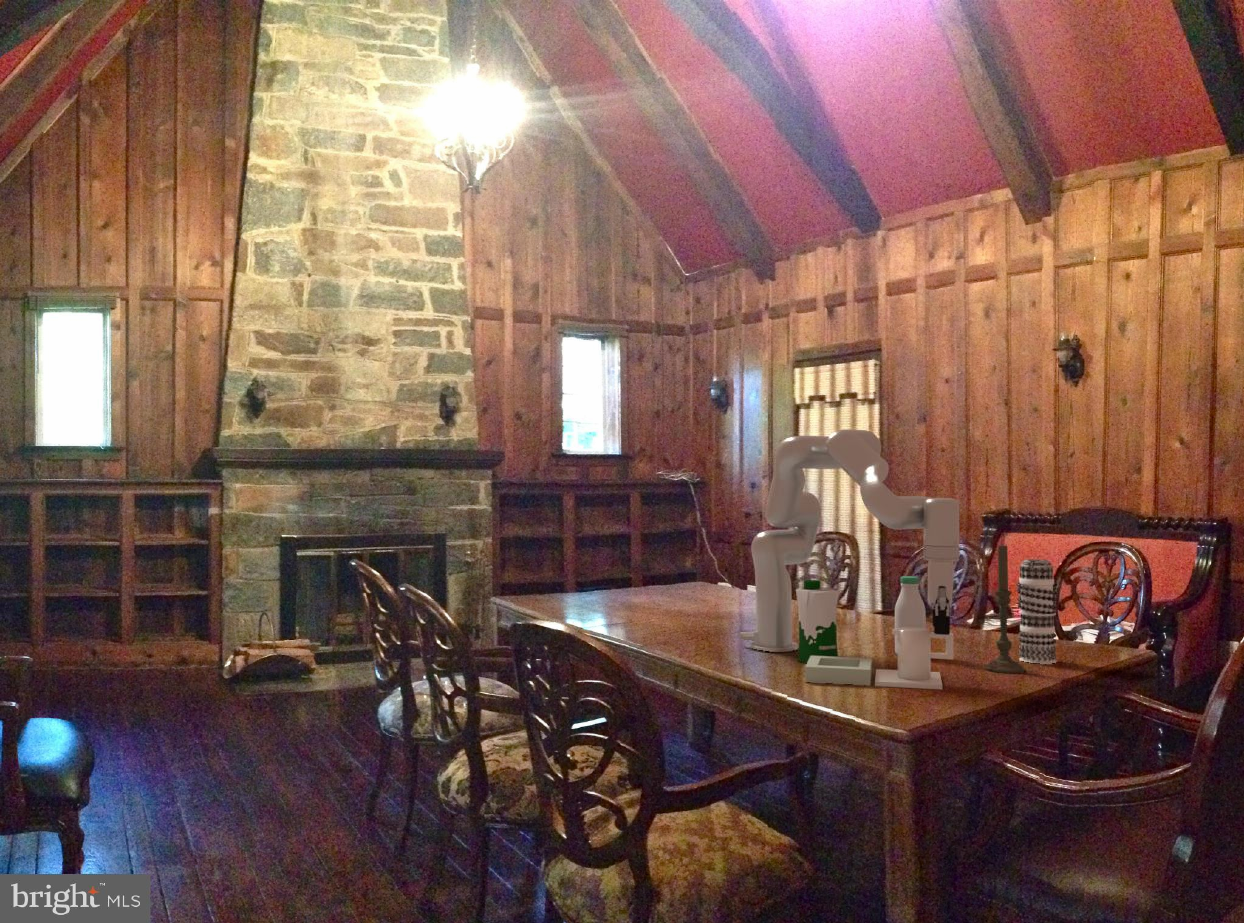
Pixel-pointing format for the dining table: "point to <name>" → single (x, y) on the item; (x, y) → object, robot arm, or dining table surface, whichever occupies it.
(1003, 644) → the candlestick holder
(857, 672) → the holder
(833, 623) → the milk carton
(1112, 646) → the dining table surface
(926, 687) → the tile
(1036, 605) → the decorative candle
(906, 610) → the milk bottle
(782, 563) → the robot arm
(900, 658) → the capsule with loop handle
